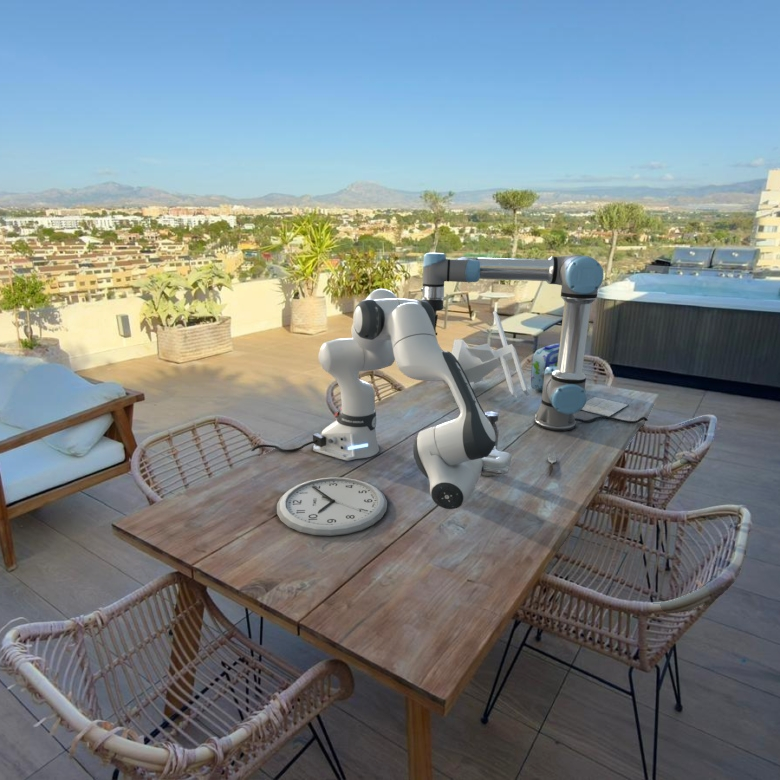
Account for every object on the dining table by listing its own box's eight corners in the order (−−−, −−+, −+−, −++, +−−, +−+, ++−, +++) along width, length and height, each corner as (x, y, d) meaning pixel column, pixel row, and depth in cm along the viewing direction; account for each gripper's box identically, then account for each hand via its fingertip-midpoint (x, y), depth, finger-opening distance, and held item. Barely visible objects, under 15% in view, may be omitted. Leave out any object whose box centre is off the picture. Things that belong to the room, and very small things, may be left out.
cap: (495, 422, 156) (496, 417, 155) (482, 420, 157) (482, 414, 157) (499, 418, 159) (499, 412, 159) (486, 416, 161) (486, 410, 160)
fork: (545, 476, 161) (545, 470, 161) (548, 456, 176) (549, 450, 175) (553, 477, 160) (554, 471, 160) (556, 457, 175) (557, 452, 174)
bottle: (492, 477, 160) (497, 419, 155) (476, 474, 162) (480, 416, 157) (497, 471, 165) (501, 413, 159) (481, 467, 167) (485, 411, 161)
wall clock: (392, 527, 129) (268, 531, 127) (391, 533, 130) (269, 537, 127) (383, 473, 158) (282, 475, 155) (383, 478, 158) (282, 480, 156)
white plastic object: (461, 429, 252) (437, 405, 227) (444, 352, 274) (420, 323, 250) (535, 404, 240) (518, 377, 215) (510, 326, 262) (492, 293, 237)
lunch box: (547, 395, 239) (552, 351, 233) (526, 390, 247) (530, 347, 240) (574, 384, 257) (579, 343, 251) (554, 380, 264) (558, 339, 258)
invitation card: (608, 416, 214) (573, 407, 224) (608, 416, 214) (573, 408, 224) (628, 404, 229) (594, 396, 238) (628, 405, 229) (594, 397, 238)
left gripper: (508, 462, 121) (516, 440, 133) (423, 448, 128) (439, 429, 140) (506, 486, 123) (514, 463, 135) (423, 471, 130) (438, 450, 142)
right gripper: (424, 293, 195) (422, 349, 202) (419, 302, 172) (417, 365, 178) (444, 294, 195) (441, 350, 201) (442, 303, 171) (439, 366, 177)
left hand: (475, 445), depth 138 cm, fingers open, 8 cm apart
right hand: (430, 357), depth 190 cm, fingers open, 13 cm apart
